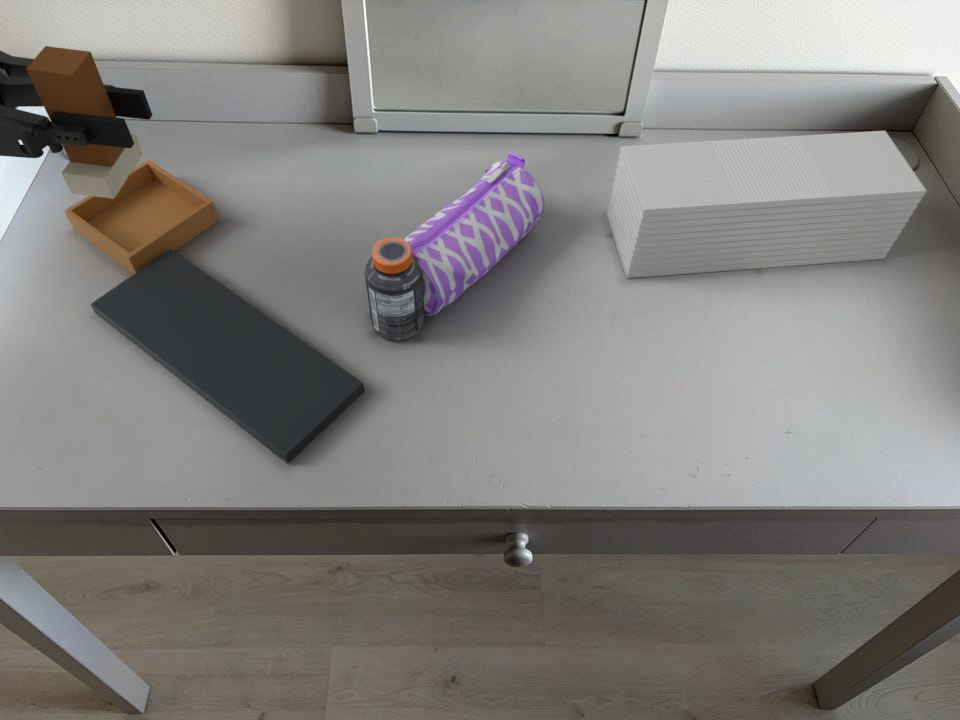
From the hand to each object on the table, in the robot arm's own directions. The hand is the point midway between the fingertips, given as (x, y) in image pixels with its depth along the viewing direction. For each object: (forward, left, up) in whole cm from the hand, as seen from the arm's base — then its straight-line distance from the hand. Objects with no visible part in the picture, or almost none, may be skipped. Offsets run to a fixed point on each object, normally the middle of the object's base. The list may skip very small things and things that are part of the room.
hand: (136, 119), depth 72 cm
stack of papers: (+47, -46, -22) cm, 69 cm away
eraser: (-3, +5, -7) cm, 9 cm away
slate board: (-5, -10, -22) cm, 25 cm away
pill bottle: (+10, -22, -22) cm, 33 cm away
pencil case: (+22, -22, -22) cm, 38 cm away
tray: (+2, +12, -22) cm, 26 cm away
